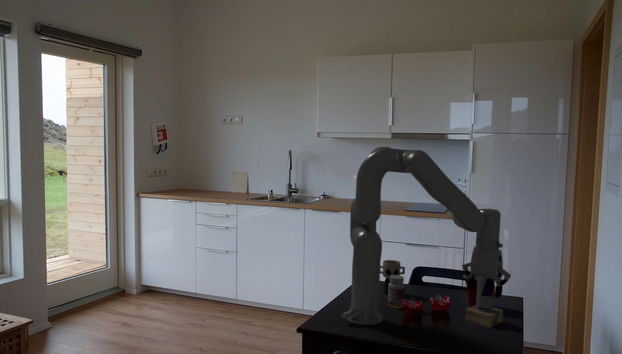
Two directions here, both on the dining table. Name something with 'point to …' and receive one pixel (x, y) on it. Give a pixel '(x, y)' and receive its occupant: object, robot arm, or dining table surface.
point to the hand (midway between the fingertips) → (484, 293)
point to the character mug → (390, 271)
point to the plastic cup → (471, 292)
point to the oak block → (484, 316)
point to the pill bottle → (396, 291)
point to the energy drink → (484, 294)
